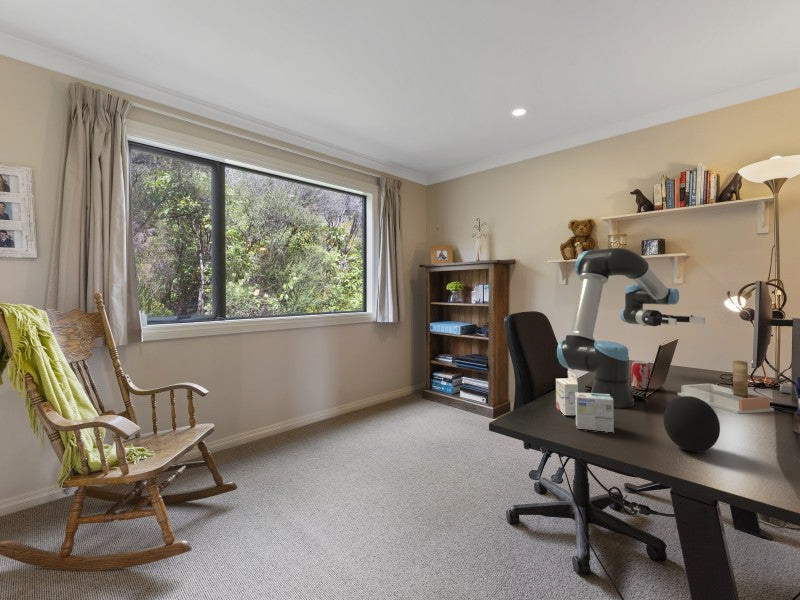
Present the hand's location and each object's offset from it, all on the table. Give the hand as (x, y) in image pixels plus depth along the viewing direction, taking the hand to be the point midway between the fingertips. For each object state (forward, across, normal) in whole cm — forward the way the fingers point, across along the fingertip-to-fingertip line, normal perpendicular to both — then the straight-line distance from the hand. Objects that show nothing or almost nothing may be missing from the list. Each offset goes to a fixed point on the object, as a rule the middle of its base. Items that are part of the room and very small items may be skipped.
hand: (690, 321), depth 158 cm
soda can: (-9, +15, -30) cm, 35 cm away
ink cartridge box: (+13, +64, -30) cm, 72 cm away
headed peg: (+21, 0, -29) cm, 35 cm away
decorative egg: (+48, +49, -30) cm, 75 cm away
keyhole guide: (+14, 0, -30) cm, 33 cm away
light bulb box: (+28, +64, -30) cm, 76 cm away
